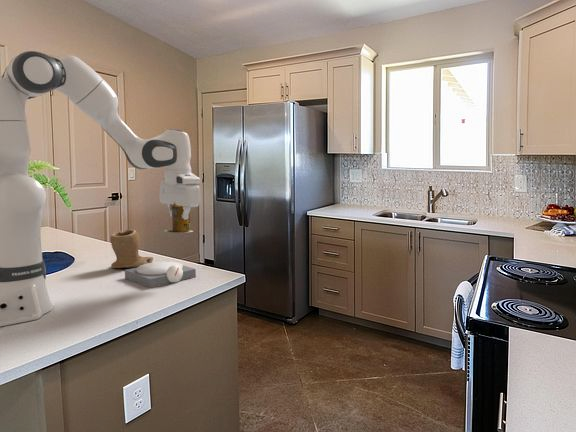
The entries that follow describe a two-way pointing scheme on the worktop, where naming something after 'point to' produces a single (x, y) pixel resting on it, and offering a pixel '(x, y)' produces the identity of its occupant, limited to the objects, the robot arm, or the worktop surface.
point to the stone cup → (127, 250)
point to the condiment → (179, 220)
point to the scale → (159, 273)
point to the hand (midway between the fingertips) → (179, 218)
